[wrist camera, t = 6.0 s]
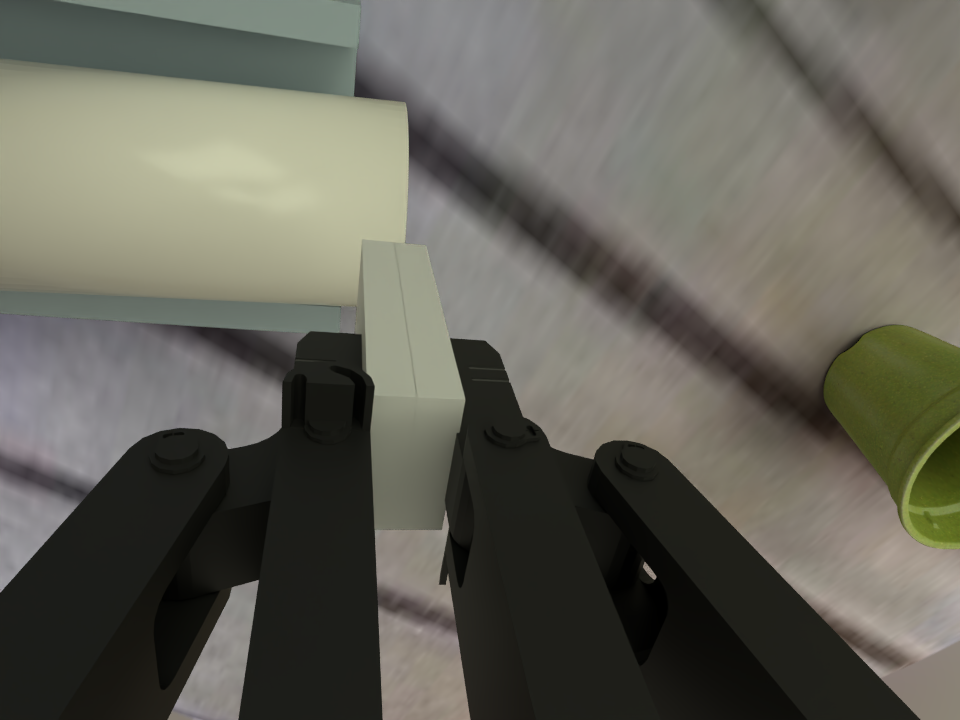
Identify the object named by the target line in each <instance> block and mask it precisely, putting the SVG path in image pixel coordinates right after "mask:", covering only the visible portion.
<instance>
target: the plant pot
mask: <svg viewBox="0 0 960 720" xmlns="http://www.w3.org/2000/svg"><path fill="white" fill-rule="evenodd" d="M824 400H825V403H826V405H827V407H828V408H829V410H830V411H831V413H832V414H833V415H834V417H835V418H836V419H837V420H838V422H839V423H840V424H841V425H842V427H843V428H844V429H845V430H846V432H847V433H848V434H849V436H850V437H851V438H852V440H853V441H854V442H855V443H856V445H857V446H858V447H859V449H860V450H861V451H862V453H863V454H864V455H865V457H866V458H867V459H868V461H869V462H870V463H871V464H872V466H873V467H874V468H875V470H876V471H877V472H878V474H879V475H880V476H881V478H882V479H883V480H884V482H885V483H886V484H887V486H888V489H889V492H890V494H891V497H892V499H893V500H894V502H895V503H896V505H897V509H898V515H899V519H900V521H901V524H902V525H903V527H904V529H905V530H906V531H907V532H908V534H909V535H910V536H911V537H912V538H914V539H915V540H916V541H918V542H919V543H921V544H923V545H926V546H929V547H933V548H939V549H960V348H958V347H956V346H953V345H951V344H949V343H947V342H945V341H942V340H940V339H938V338H936V337H933V336H931V335H929V334H926V333H924V332H922V331H919V330H917V329H914V328H912V327H908V326H903V325H891V326H885V327H881V328H877V329H875V330H872V331H870V332H868V333H866V334H864V335H863V336H862V337H861V339H860V340H859V341H858V342H857V343H856V344H855V345H854V346H853V347H852V348H850V349H849V350H847V351H845V352H844V353H841V354H840V355H839V356H838V357H837V358H836V359H835V361H834V362H833V364H832V365H831V367H830V369H829V371H828V373H827V376H826V379H825V383H824Z"/></svg>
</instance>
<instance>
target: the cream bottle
mask: <svg viewBox="0 0 960 720" xmlns="http://www.w3.org/2000/svg"><path fill="white" fill-rule="evenodd" d="M408 167H409V137H408V116H407V108H406V104H405V102H397V101H388V100H379V99H370V98H361V97H351V96H342V95H333V94H324V93H315V92H305V91H296V90H287V89H278V88H269V87H259V86H250V85H241V84H232V83H223V82H213V81H204V80H195V79H186V78H177V77H167V76H158V75H149V74H140V73H130V72H121V71H112V70H103V69H94V68H84V67H75V66H66V65H57V64H48V63H38V62H29V61H20V60H11V59H2V58H0V291H20V292H42V293H64V294H86V295H108V296H131V297H153V298H175V299H197V300H219V301H241V302H264V303H286V304H308V305H330V306H352V307H357V298H358V285H359V273H360V260H361V247H362V239H365V240H375V241H385V242H396V243H405V236H406V220H407V200H408Z"/></svg>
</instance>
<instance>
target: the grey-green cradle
mask: <svg viewBox="0 0 960 720" xmlns="http://www.w3.org/2000/svg"><path fill="white" fill-rule="evenodd" d="M360 15H361V2H360V0H0V58H2V59H11V60H20V61H29V62H38V63H48V64H57V65H66V66H75V67H84V68H94V69H103V70H112V71H121V72H130V73H140V74H149V75H158V76H167V77H177V78H186V79H195V80H204V81H213V82H223V83H232V84H241V85H250V86H259V87H269V88H278V89H287V90H296V91H305V92H315V93H324V94H333V95H342V96H351V97H354V86H355V70H356V55H357V49H358V45H359V30H360ZM0 314H16V315H31V316H46V317H62V318H77V319H93V320H108V321H123V322H139V323H154V324H170V325H185V326H201V327H216V328H231V329H247V330H262V331H278V332H293V333H309V332H310V331H318V332H333V333H339V330H340V315H341V306H330V305H308V304H286V303H264V302H241V301H219V300H197V299H175V298H153V297H131V296H108V295H86V294H64V293H42V292H20V291H0Z"/></svg>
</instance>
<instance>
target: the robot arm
mask: <svg viewBox="0 0 960 720" xmlns="http://www.w3.org/2000/svg"><path fill="white" fill-rule="evenodd" d="M445 510H446V511H447V517H448V523H449V531H448V536H447V541H446V547H445V552H444V557H443V562H442V568H441V573H440V581H439V585H446V580H447V575H448V574H449V581H450V587H451V594H452V601H453V607H454V614H455V620H456V627H457V633H458V640H459V647H460V653H461V660H462V666H463V673H464V679H465V686H466V693H467V699H468V706H469V712H470V719H471V720H920V719H919V718H918V717H917V716H916V715H915V714H914V713H913V712H912V711H911V709H910V708H909V707H908V706H907V705H906V704H905V703H904V702H903V701H902V700H901V699H900V698H899V697H898V696H897V695H896V694H895V693H894V692H893V691H892V690H891V689H890V688H889V687H888V686H887V685H886V684H885V683H884V682H883V681H882V680H881V679H880V678H879V676H878V675H877V674H876V673H875V672H874V671H873V670H872V669H871V668H870V667H869V666H868V665H867V664H866V663H865V662H864V661H863V660H862V659H861V658H860V657H859V656H858V655H857V654H856V653H855V652H854V651H853V650H852V649H851V648H850V647H849V646H848V645H847V643H846V642H845V641H844V640H843V639H842V638H841V637H840V636H839V635H838V634H837V633H836V632H835V631H834V630H833V629H832V628H831V627H830V626H829V625H828V624H827V623H826V622H825V621H824V620H823V619H822V618H821V617H820V616H819V615H818V614H817V613H816V612H815V611H814V609H813V608H812V607H811V606H810V605H809V604H808V603H807V602H806V601H805V600H804V599H803V598H802V597H801V596H800V595H799V594H798V593H797V592H796V591H795V590H794V589H793V588H792V587H791V586H790V585H789V584H788V583H787V582H786V581H785V580H784V579H783V578H782V576H781V575H780V574H779V573H778V572H777V571H776V570H775V569H774V568H773V567H772V566H771V565H770V564H769V563H768V562H767V561H766V560H765V559H764V558H763V557H762V556H761V555H760V554H759V553H758V552H757V551H756V550H755V549H754V548H753V547H752V546H751V545H750V543H749V542H748V541H747V540H746V539H745V538H744V537H743V536H742V535H741V534H740V533H739V532H738V531H737V530H736V529H735V528H734V527H733V526H732V525H731V524H730V523H729V522H728V521H727V520H726V519H725V518H724V517H723V516H722V515H721V514H720V513H719V512H718V510H717V509H716V508H715V507H714V506H713V505H712V504H711V503H710V502H709V501H708V500H707V499H706V498H705V497H704V496H703V495H702V494H701V493H700V492H699V491H698V490H697V489H696V488H695V487H694V486H693V485H692V484H691V483H690V482H689V481H688V480H687V479H686V477H685V476H684V475H683V474H682V473H681V472H680V471H679V470H678V469H677V468H676V467H675V466H674V465H673V464H672V463H671V462H670V461H669V460H668V459H667V458H665V457H664V456H663V455H661V454H660V453H659V452H658V451H656V450H654V449H652V448H649V447H647V446H645V445H643V444H640V443H635V442H631V441H611V442H608V443H605V444H602V445H601V446H600V448H599V449H598V450H597V451H596V453H595V457H594V460H593V459H589V458H585V457H581V456H576V455H572V454H568V453H565V452H562V451H559V450H556V449H554V448H552V447H550V444H549V442H548V439H547V437H546V435H545V434H544V432H543V431H542V429H541V428H540V427H539V426H537V425H536V424H535V423H533V422H532V421H530V420H529V419H527V418H524V417H523V416H522V413H521V410H520V408H519V405H518V402H517V400H516V397H515V394H514V392H513V389H512V386H511V384H510V382H509V378H508V375H507V373H506V371H505V367H504V365H503V362H502V359H501V357H500V354H499V353H498V352H497V351H496V350H495V349H494V348H493V347H491V346H490V345H489V344H488V343H487V342H486V341H482V340H467V339H452V338H450V337H449V333H448V330H447V326H446V322H445V318H444V314H443V310H442V306H441V302H440V298H439V294H438V291H437V287H436V283H435V279H434V275H433V271H432V267H431V263H430V259H429V256H428V252H427V248H426V245H416V244H406V243H396V242H385V241H375V240H365V239H362V247H361V260H360V273H359V285H358V298H357V310H356V323H355V334H348V333H333V332H318V331H310V332H309V333H308V334H307V335H306V336H305V337H304V338H302V339H301V340H300V341H299V342H298V344H297V351H296V358H295V365H294V369H293V370H291V371H289V372H288V373H287V375H286V376H285V378H284V380H283V384H282V428H281V429H280V430H279V431H278V432H277V433H275V434H274V435H273V436H271V437H270V438H268V439H266V440H263V441H261V442H259V443H256V444H252V445H248V446H244V447H238V448H233V449H227V447H226V444H225V442H224V441H222V440H221V439H220V438H219V437H217V436H216V435H215V434H212V433H209V432H206V431H203V430H200V429H188V428H177V429H171V430H164V431H159V432H157V433H154V434H152V435H149V436H147V437H144V438H142V439H141V440H140V441H138V442H137V443H136V444H134V445H133V446H132V447H130V448H129V449H128V450H127V452H126V453H125V454H124V455H123V456H122V457H121V458H120V459H119V461H118V462H117V463H116V464H115V465H114V466H113V467H112V468H111V469H110V471H109V472H108V473H107V474H106V475H105V476H104V477H103V478H102V480H101V481H100V482H99V483H98V484H97V485H96V486H95V487H94V489H93V490H92V491H91V492H90V493H89V494H88V495H87V496H86V497H85V499H84V500H83V501H82V502H81V503H80V504H79V505H78V506H77V508H76V509H75V510H74V511H73V512H72V513H71V514H70V515H69V517H68V518H67V519H66V520H65V521H64V522H63V523H62V524H61V525H60V527H59V528H58V529H57V530H56V531H55V532H54V533H53V534H52V536H51V537H50V538H49V539H48V540H47V541H46V542H45V543H44V545H43V546H42V547H41V548H40V549H39V550H38V551H37V552H36V553H35V555H34V556H33V557H32V558H31V559H30V560H29V561H28V562H27V564H26V565H25V566H24V567H23V568H22V569H21V570H20V571H19V572H18V574H17V575H16V576H15V577H14V578H13V579H12V580H11V581H10V583H9V584H8V585H7V586H6V587H5V588H4V589H3V590H2V592H1V593H0V720H167V719H168V717H169V715H170V713H171V711H172V710H173V708H174V706H175V704H176V702H177V700H178V698H179V696H180V694H181V692H182V690H183V688H184V686H185V684H186V682H187V680H188V678H189V676H190V674H191V672H192V670H193V668H194V666H195V664H196V662H197V660H198V658H199V656H200V654H201V652H202V650H203V648H204V646H205V644H206V642H207V640H208V638H209V636H210V634H211V632H212V631H213V629H214V627H215V625H216V623H217V621H218V619H219V617H220V615H221V613H222V611H223V609H224V607H225V605H226V603H227V601H228V599H229V597H230V593H231V588H232V587H234V586H238V585H241V584H245V583H249V582H252V581H256V580H259V584H258V591H257V598H256V605H255V611H254V618H253V625H252V632H251V638H250V645H249V652H248V659H247V666H246V672H245V679H244V686H243V693H242V699H241V706H240V713H239V720H383V719H382V696H381V672H380V648H379V624H378V600H377V576H376V552H375V530H442V526H443V521H444V515H445ZM644 562H646V563H647V564H648V566H649V567H650V568H651V569H652V571H653V572H654V573H655V575H656V576H657V577H656V579H655V580H653V579H652V578H651V577H650V576H649V575H648V574H647V572H646V571H645V570H644V568H643V565H644Z"/></svg>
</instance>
